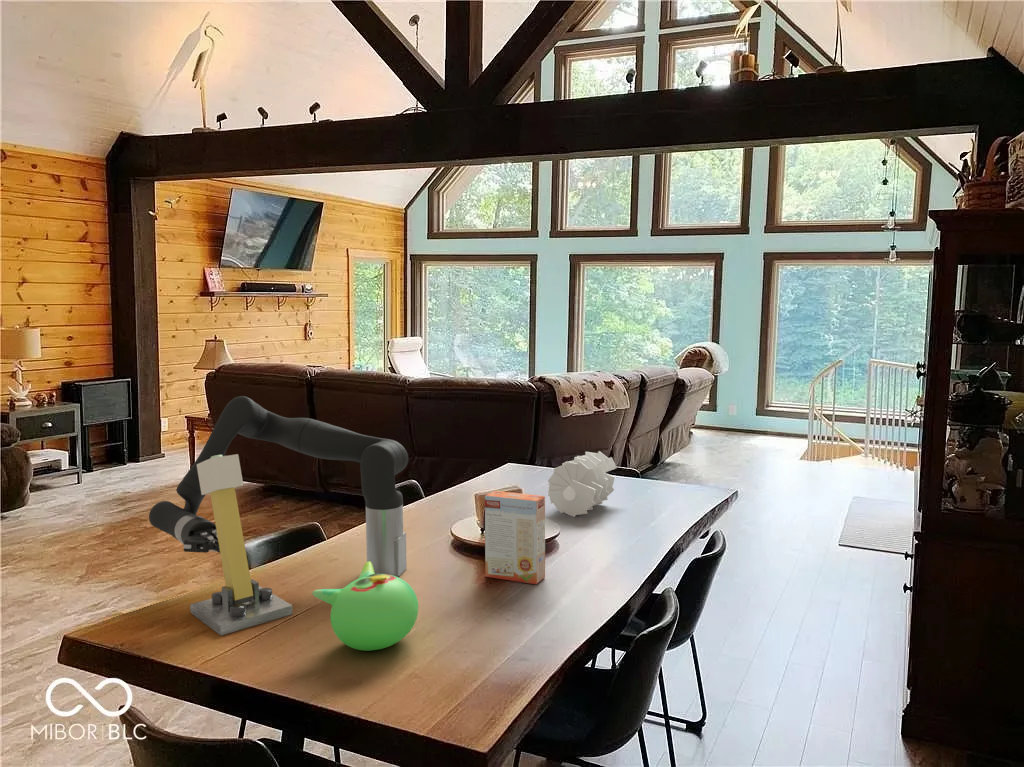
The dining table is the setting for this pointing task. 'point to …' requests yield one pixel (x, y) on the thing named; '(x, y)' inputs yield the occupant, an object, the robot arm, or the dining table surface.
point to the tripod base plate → (240, 623)
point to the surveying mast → (227, 521)
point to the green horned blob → (371, 610)
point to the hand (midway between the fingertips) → (226, 549)
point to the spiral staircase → (581, 483)
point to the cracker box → (515, 537)
